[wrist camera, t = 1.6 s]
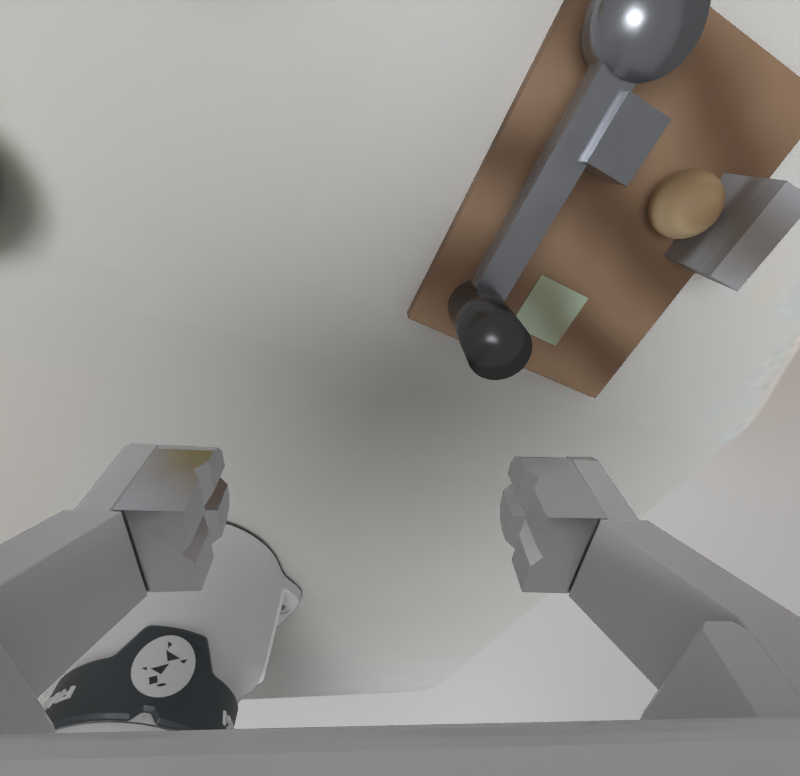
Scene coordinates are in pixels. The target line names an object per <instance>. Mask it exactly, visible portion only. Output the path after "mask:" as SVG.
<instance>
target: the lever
mask: <svg viewBox="0 0 800 776" xmlns="http://www.w3.org/2000/svg"><path fill="white" fill-rule="evenodd" d="M710 1H711V0H591V2H590V4H589V6H588V9H587V12H586V15H585V19H584V24H583V33H582V43H583V51H584V55H585V59H586V61H587V64H588V66H589V67H588V69H587V71H586V73H585V75H584V77H583V78H582V80H581V82H580V84H579V86H578V87H577V89H576V91H575V93H574V95H573V96H572V98H571V100H570V102H569V104H568V105H567V107H566V109H565V111H564V113H563V114H562V116H561V118H560V120H559V122H558V123H557V125H556V127H555V129H554V131H553V132H552V134H551V136H550V138H549V140H548V141H547V143H546V145H545V147H544V149H543V151H542V152H541V154H540V156H539V158H538V160H537V161H536V163H535V165H534V167H533V169H532V170H531V172H530V174H529V176H528V178H527V179H526V181H525V183H524V185H523V187H522V188H521V190H520V192H519V194H518V196H517V197H516V199H515V201H514V203H513V205H512V206H511V208H510V210H509V212H508V214H507V215H506V217H505V219H504V221H503V223H502V224H501V226H500V228H499V230H498V232H497V234H496V235H495V237H494V239H493V241H492V243H491V244H490V246H489V248H488V250H487V252H486V253H485V255H484V257H483V259H482V261H481V262H480V264H479V266H478V268H477V270H476V271H475V273H474V275H473V277H472V279H471V280H470V281H467V282H464V283H462V284H461V285H459V286H458V287H457V288H456V289H455V290H454V291H453V292H452V294H451V296H450V298H449V301H448V314H449V317H450V319H451V322H452V324H453V327H454V329H455V332H456V334H457V336H458V339H459V341H460V344H461V346H462V349H463V351H464V353H465V356H466V358H467V361H468V363H469V366H470V367H471V369H472V370H473V371H474V372H475V373H476V374H477V375H479V376H481V377H483V378H486V379H490V380H500V379H505V378H508V377H511V376H513V375H515V374H516V373H518V372H519V371H520V370H521V369H522V368H523V367H524V366H525V365H526V364H527V362H528V360H529V358H530V356H531V353H532V339H531V336H530V334H529V332H528V331H527V330H526V328H525V327H524V326H523V324H522V323H521V322H520V320H519V319H518V318H517V316H516V315H515V314H514V313H513V311H512V310H511V309H510V307H509V306H508V305H507V303H506V302H505V300H506V298H507V297H508V295H509V293H510V292H511V290H512V288H513V287H514V285H515V283H516V282H517V280H518V278H519V277H520V275H521V273H522V272H523V270H524V268H525V267H526V265H527V263H528V262H529V260H530V259H531V257H532V255H533V254H534V252H535V250H536V249H537V247H538V245H539V244H540V242H541V240H542V239H543V237H544V235H545V234H546V232H547V230H548V229H549V227H550V225H551V224H552V222H553V221H554V219H555V217H556V216H557V214H558V212H559V211H560V209H561V207H562V206H563V204H564V202H565V201H566V199H567V197H568V196H569V194H570V192H571V191H572V189H573V187H574V186H575V184H576V182H577V181H578V179H579V178H580V176H581V174H582V173H583V171H584V170H586V171H588V172H589V173H591V174H593V175H594V176H596V177H598V178H600V179H601V180H603V181H605V182H609V183H614V184H618V185H622V186H628V185H629V183H630V182H631V180H632V179H633V177H634V176H635V174H636V173H637V171H638V170H639V168H640V167H641V165H642V164H643V162H644V161H645V159H646V157H647V156H648V154H649V153H650V151H651V150H652V148H653V147H654V145H655V144H656V142H657V141H658V139H659V138H660V136H661V135H662V133H663V132H664V130H665V129H666V127H667V126H668V124H669V122H670V121H671V118H669V117H668V116H666V115H665V114H663V113H662V112H660V111H659V110H657V109H656V108H654V107H653V106H651V105H650V104H648V103H647V102H645V101H644V100H642V99H641V98H639V97H638V96H636V95H635V94H634V93H632V90H633V88H634V87H635V85H636V84H638V83H644V82H650V81H653V80H657V79H659V78H661V77H663V76H665V75H667V74H668V73H670V72H671V71H673V70H674V69H675V68H677V67H678V66H679V65H680V64H681V63H682V62H683V61H684V60H685V59H686V57H687V56H688V55H689V54H690V52H691V51H692V50H693V48H694V47H695V45H696V43H697V42H698V40H699V38H700V36H701V34H702V32H703V29H704V27H705V24H706V21H707V17H708V13H709V8H710Z"/></svg>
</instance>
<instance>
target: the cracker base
mask: <svg viewBox="0 0 800 776" xmlns="http://www.w3.org/2000/svg"><path fill="white" fill-rule="evenodd" d="M590 2H591V0H564V2H563V4H562V6H561V7H560V9H559V11H558V13H557V15H556V17H555V19H554V21H553V23H552V25H551V27H550V29H549V31H548V33H547V35H546V37H545V39H544V41H543V43H542V45H541V47H540V49H539V51H538V53H537V55H536V57H535V59H534V61H533V63H532V65H531V67H530V69H529V71H528V73H527V75H526V77H525V79H524V81H523V83H522V85H521V87H520V89H519V91H518V93H517V95H516V97H515V99H514V101H513V103H512V105H511V107H510V109H509V111H508V113H507V115H506V117H505V119H504V121H503V123H502V125H501V127H500V129H499V131H498V133H497V135H496V137H495V139H494V141H493V143H492V145H491V147H490V149H489V151H488V153H487V155H486V157H485V159H484V161H483V163H482V165H481V167H480V169H479V171H478V173H477V175H476V177H475V178H474V180H473V182H472V184H471V186H470V188H469V190H468V192H467V194H466V196H465V198H464V200H463V202H462V204H461V206H460V208H459V210H458V212H457V214H456V216H455V218H454V220H453V222H452V224H451V226H450V228H449V230H448V232H447V234H446V236H445V238H444V240H443V242H442V244H441V246H440V248H439V250H438V252H437V254H436V256H435V258H434V260H433V262H432V264H431V266H430V268H429V270H428V272H427V274H426V276H425V278H424V280H423V282H422V284H421V286H420V288H419V290H418V292H417V294H416V296H415V298H414V300H413V302H412V304H411V306H410V308H409V310H408V312H407V314H408V318H410V319H412V320H414V321H417V322H419V323H421V324H423V325H426V326H428V327H430V328H433V329H435V330H437V331H440V332H442V333H444V334H447V335H449V336H451V337H454V338H456V339H458V336H457V334H456V332H455V329H454V327H453V324H452V322H451V319H450V317H449V314H448V301H449V298H450V296H451V294H452V292H453V291H454V290H455V289H456V288H457V287H458V286H459V285H461V284H462V283H464V282H467V281H470V280H471V279H472V277H473V275H474V273H475V271H476V270H477V268H478V266H479V264H480V262H481V261H482V259H483V257H484V255H485V253H486V252H487V250H488V248H489V246H490V244H491V243H492V241H493V239H494V237H495V235H496V234H497V232H498V230H499V228H500V226H501V224H502V223H503V221H504V219H505V217H506V215H507V214H508V212H509V210H510V208H511V206H512V205H513V203H514V201H515V199H516V197H517V196H518V194H519V192H520V190H521V188H522V187H523V185H524V183H525V181H526V179H527V178H528V176H529V174H530V172H531V170H532V169H533V167H534V165H535V163H536V161H537V160H538V158H539V156H540V154H541V152H542V151H543V149H544V147H545V145H546V143H547V141H548V140H549V138H550V136H551V134H552V132H553V131H554V129H555V127H556V125H557V123H558V122H559V120H560V118H561V116H562V114H563V113H564V111H565V109H566V107H567V105H568V104H569V102H570V100H571V98H572V96H573V95H574V93H575V91H576V89H577V87H578V86H579V84H580V82H581V80H582V78H583V77H584V75H585V73H586V71H587V69H588V67H589V66H588V64H587V61H586V59H585V55H584V51H583V43H582V33H583V24H584V19H585V15H586V12H587V9H588V6H589V4H590ZM632 93H634V94H635V95H636V96H638V97H639V98H641V99H642V100H644V101H645V102H647V103H648V104H650V105H651V106H653V107H654V108H656V109H657V110H659V111H660V112H662V113H663V114H665V115H666V116H668V117H669V118H671V121H670V122H669V124H668V126H667V127H666V129H665V130H664V132H663V133H662V135H661V136H660V138H659V139H658V141H657V142H656V144H655V145H654V147H653V148H652V150H651V151H650V153H649V154H648V156H647V157H646V159H645V161H644V162H643V164H642V165H641V167H640V168H639V170H638V171H637V173H636V174H635V176H634V177H633V179H632V180H631V182H630V183H629V185H628V186H622V185H618V184H614V183H609V182H605V181H603V180H601V179H600V178H598V177H596V176H594V175H593V174H591V173H589V172H588V171H586V170H584V171H583V173H582V174H581V176H580V178H579V179H578V181H577V182H576V184H575V186H574V187H573V189H572V191H571V192H570V194H569V196H568V197H567V199H566V201H565V202H564V204H563V206H562V207H561V209H560V211H559V212H558V214H557V216H556V217H555V219H554V221H553V222H552V224H551V225H550V227H549V229H548V230H547V232H546V234H545V235H544V237H543V239H542V240H541V242H540V244H539V245H538V247H537V249H536V250H535V252H534V254H533V255H532V257H531V259H530V260H529V262H528V263H527V265H526V267H525V268H524V270H523V272H522V273H521V275H520V277H519V278H518V280H517V282H516V283H515V285H514V287H513V288H512V290H511V292H510V293H509V295H508V297H507V298H506V300H505V302H506V303H507V305H508V306H509V307H510V309H511V310H512V311H513V313H514V314H515V315H516V316H517V318H518V319H519V320H520V322H521V323H522V324H523V326H524V327H525V328H526V330H527V331H528V332H529V334H530V336H531V339H532V353H531V356H530V358H529V360H528V362H527V364H526V365H525V366H524V367H523V368H526V369H528V370H530V371H533V372H535V373H537V374H540V375H542V376H544V377H546V378H549V379H551V380H553V381H556V382H558V383H560V384H563V385H565V386H567V387H570V388H572V389H574V390H577V391H579V392H581V393H584V394H586V395H588V396H591V397H593V398H596V397H597V395H598V394H599V393H600V392H601V390H602V389H603V388H604V387H605V385H606V384H607V383H608V381H609V380H610V379H611V378H612V376H613V375H614V374H615V373H616V371H617V370H618V369H619V368H620V366H621V365H622V364H623V362H624V361H625V360H626V359H627V357H628V356H629V355H630V354H631V352H632V351H633V350H634V349H635V347H636V346H637V345H638V343H639V342H640V341H641V340H642V338H643V337H644V336H645V335H646V333H647V332H648V331H649V330H650V328H651V327H652V326H653V325H654V323H655V322H656V321H657V319H658V318H659V317H660V316H661V314H662V313H663V312H664V311H665V309H666V308H667V307H668V306H669V304H670V303H671V302H672V300H673V299H674V298H675V297H676V295H677V294H678V293H679V292H680V290H681V289H682V288H683V287H684V285H685V284H686V283H687V281H688V280H689V279H690V278H691V276H692V275H693V274H694V273H697V274H700V275H702V276H704V277H706V278H709V279H711V280H713V281H715V282H718V283H720V284H722V285H724V286H726V287H729V288H731V289H733V290H735V291H738V290H739V289H740V288H741V286H742V285H743V284H744V283H745V282H746V281H747V279H748V278H749V277H750V276H751V275H752V274H753V272H754V271H755V270H756V269H757V268H758V267H759V265H760V264H761V263H762V262H763V261H764V260H765V258H766V257H767V256H768V255H769V254H770V252H771V251H772V250H773V249H774V248H775V247H776V245H777V244H778V243H779V242H780V241H781V240H782V238H783V237H784V236H785V235H786V234H787V233H788V231H789V230H790V229H791V228H792V227H793V226H794V224H795V223H796V222H797V221H798V220H799V219H800V189H798V188H797V187H795V186H794V185H792V184H791V183H789V182H788V181H783V180H775V179H769V178H770V176H771V175H772V174H773V173H774V171H775V170H776V169H777V168H778V166H779V165H780V164H781V163H782V161H783V160H784V159H785V157H786V156H787V155H788V154H789V152H790V151H791V150H792V149H793V147H794V146H795V145H796V144H797V142H798V141H799V140H800V77H799V76H798V75H796V74H795V73H794V72H793V71H791V70H790V69H789V68H787V67H786V66H785V65H784V64H782V63H781V62H780V61H779V60H777V59H776V58H775V57H773V56H772V55H771V54H770V53H768V52H767V51H766V50H764V49H763V48H762V47H761V46H759V45H758V44H757V43H756V42H754V41H753V40H752V39H750V38H749V37H748V36H747V35H745V34H744V33H743V32H742V31H740V30H739V29H738V28H736V27H735V26H734V25H733V24H731V23H730V22H729V21H728V20H726V19H725V18H724V17H722V16H721V15H720V14H719V13H717V12H716V11H715V10H713V9H712V8H711V7H710V8H709V13H708V17H707V21H706V24H705V27H704V29H703V32H702V34H701V36H700V38H699V40H698V42H697V43H696V45H695V47H694V48H693V50H692V51H691V52H690V54H689V55H688V56H687V57H686V59H685V60H684V61H683V62H682V63H681V64H680V65H679V66H678V67H677V68H675V69H674V70H673V71H671V72H670V73H668V74H667V75H665V76H663V77H661V78H659V79H657V80H653V81H650V82H644V83H638V84H636V85H635V87H634V88H633V90H632ZM458 340H459V339H458Z"/></svg>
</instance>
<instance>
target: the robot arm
mask: <svg viewBox="0 0 800 776" xmlns="http://www.w3.org/2000/svg"><path fill="white" fill-rule="evenodd" d="M224 466H225V464H224V459H223V454H222V451H221V450H220V449H219V448H216V447H197V446H177V445H150V444H130V445H128V446H125V447H124V448H123V449H122V450H121V451H120V453H119V454H118V455H117V456H116V458H115V459H114V460H113V461H112V463H111V464H110V465H109V466H108V468H107V469H106V470H105V472H104V473H103V474H102V475H101V477H100V478H99V479H98V480H97V482H96V483H95V484H94V486H93V487H92V488H91V489H90V491H89V492H88V493H87V494H86V496H85V497H84V498H83V499H82V501H81V502H80V503H79V505H78V506H77V507H76V508H75V510H74V511H62V512H60V513H58V514H56V515H54V516H52V517H51V518H49V519H47V520H45V521H43V522H41V523H39V524H38V525H36V526H34V527H32V528H30V529H28V530H26V531H25V532H23V533H21V534H19V535H17V536H15V537H13V538H11V539H10V540H8V541H6V542H4V543H2V544H0V776H800V617H799V616H797V615H795V614H794V613H792V612H791V611H789V610H788V609H786V608H784V607H783V606H781V605H780V604H778V603H776V602H775V601H773V600H772V599H770V598H769V597H767V596H765V595H764V594H762V593H761V592H759V591H757V590H756V589H754V588H753V587H751V586H750V585H748V584H746V583H745V582H743V581H742V580H740V579H739V578H737V577H736V576H734V575H732V574H731V573H729V572H728V571H726V570H725V569H723V568H721V567H720V566H718V565H717V564H715V563H714V562H712V561H710V560H709V559H707V558H705V557H704V556H703V555H701V554H699V553H698V552H696V551H695V550H693V549H692V548H690V547H688V546H687V545H685V544H684V543H682V542H680V541H679V540H677V539H676V538H674V537H672V536H671V535H670V534H668V533H666V532H665V531H663V530H661V529H660V528H659V527H657V526H655V525H654V524H652V523H651V522H649V521H646V520H645V521H643V520H639V519H638V518H637V516H636V515H635V513H634V512H633V511H632V509H631V508H630V506H629V505H628V503H627V502H626V500H625V499H624V497H623V496H622V495H621V493H620V492H619V490H618V489H617V487H616V486H615V484H614V483H613V482H612V480H611V479H610V477H609V476H608V474H607V473H606V471H605V470H604V468H603V467H602V466H601V464H600V463H599V461H598V460H596V459H595V458H593V457H566V458H554V457H514V458H513V460H512V462H511V464H510V467H509V471H508V475H509V477H510V480H511V482H512V484H511V485H510V486H508V487H507V488H506V489H505V490H504V491H503V495H502V499H501V504H500V520H501V526H502V531H503V534H504V537H505V540H506V541H507V542H508V543H509V544H510V545H512V546H513V547H514V548H515V551H514V554H513V558H512V562H513V565H514V568H515V571H516V574H517V577H518V580H519V583H520V586H521V589H522V592H544V593H570V594H569V597H571V599H572V600H573V601H574V602H575V603H576V604H577V605H578V606H579V607H580V608H581V609H582V610H583V611H584V612H585V613H586V614H587V615H588V616H589V617H590V618H591V620H592V621H593V622H594V623H595V624H596V625H597V626H598V627H599V628H600V629H601V630H602V631H603V632H604V633H605V634H606V635H607V636H608V637H609V638H610V639H611V641H613V643H614V644H616V646H617V647H618V648H619V649H620V650H621V651H622V652H623V653H624V654H625V655H626V656H627V657H628V658H629V659H630V660H631V661H632V663H633V664H635V666H636V667H637V668H638V669H639V670H640V671H641V672H642V673H643V674H644V675H645V676H646V677H647V678H648V679H649V680H650V681H651V682H652V683H653V685H655V687H657V689H658V691H657V693H656V694H655V696H654V697H653V699H652V700H651V701H650V703H649V704H648V706H647V707H646V709H645V710H644V712H643V714H642V716H641V719H640V720H613V721H571V722H522V723H481V724H480V723H477V724H433V725H391V726H390V725H389V726H348V727H347V726H346V727H307V728H306V727H304V728H263V729H234V724H235V720H236V715H237V711H238V703H239V701H240V700H241V699H242V698H243V697H244V696H246V695H247V694H249V693H250V692H252V691H253V690H254V688H255V687H256V685H258V684H259V683H261V682H262V681H263V679H264V677H265V674H266V670H267V666H268V662H269V658H270V653H271V649H272V645H273V641H274V637H275V632H276V628H277V627H278V626H279V625H280V624H281V623H282V622H283V621H284V620H285V619H286V618H287V617H288V616H289V615H290V613H291V612H292V611H293V610H294V609H295V608H296V607H297V606H298V605H299V602H300V598H301V591H300V589H299V588H298V587H297V586H296V585H295V584H294V583H292V582H291V581H290V580H289V579H287V578H286V577H285V576H284V574H283V572H282V571H281V568H280V566H279V564H278V561H277V560H276V558H275V556H274V555H273V553H272V552H271V551H270V550H269V549H268V548H267V547H266V546H265V545H264V544H263V543H262V542H261V541H259V540H258V539H257V538H255V537H254V536H252V535H250V534H249V533H247V532H245V531H243V530H241V529H239V528H236V527H234V526H231V525H228V524H226V521H227V516H228V510H229V491H228V485H227V484H226V483H225V482H224V481H223V480H222V479H221V478H220V476H221V473H222V471H223V469H224ZM64 673H65V676H64V677H63V678H62V679H61V680H60V681H59V683H58V684H57V686H56V688H55V690H54V691H53V693H52V695H51V697H50V699H49V700H48V701H47V702H46V703H45V704H44V706H43V707H42V706H41V704H40V703H39V701H38V699H37V698H38V697H39V696H40V695H41V694H42V693H43V692H44V691H45V690H46V689H47V688H48V687H50V686H51V685H52V684H53V683H54V682H55V681H56V680H57V679H58V678H59V677H60V676H61V675H62V674H64Z"/></svg>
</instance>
